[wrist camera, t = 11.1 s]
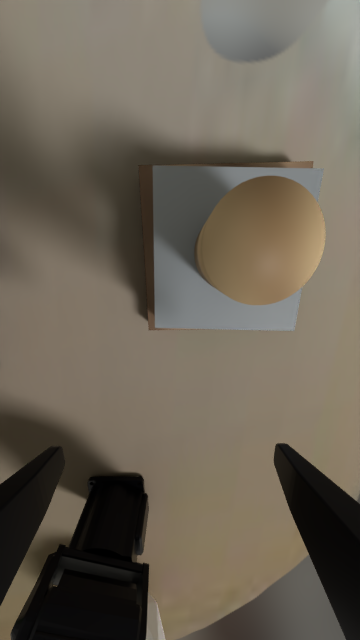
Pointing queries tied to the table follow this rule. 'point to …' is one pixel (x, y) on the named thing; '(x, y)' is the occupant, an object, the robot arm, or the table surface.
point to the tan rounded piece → (261, 241)
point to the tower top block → (179, 243)
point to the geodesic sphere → (153, 621)
